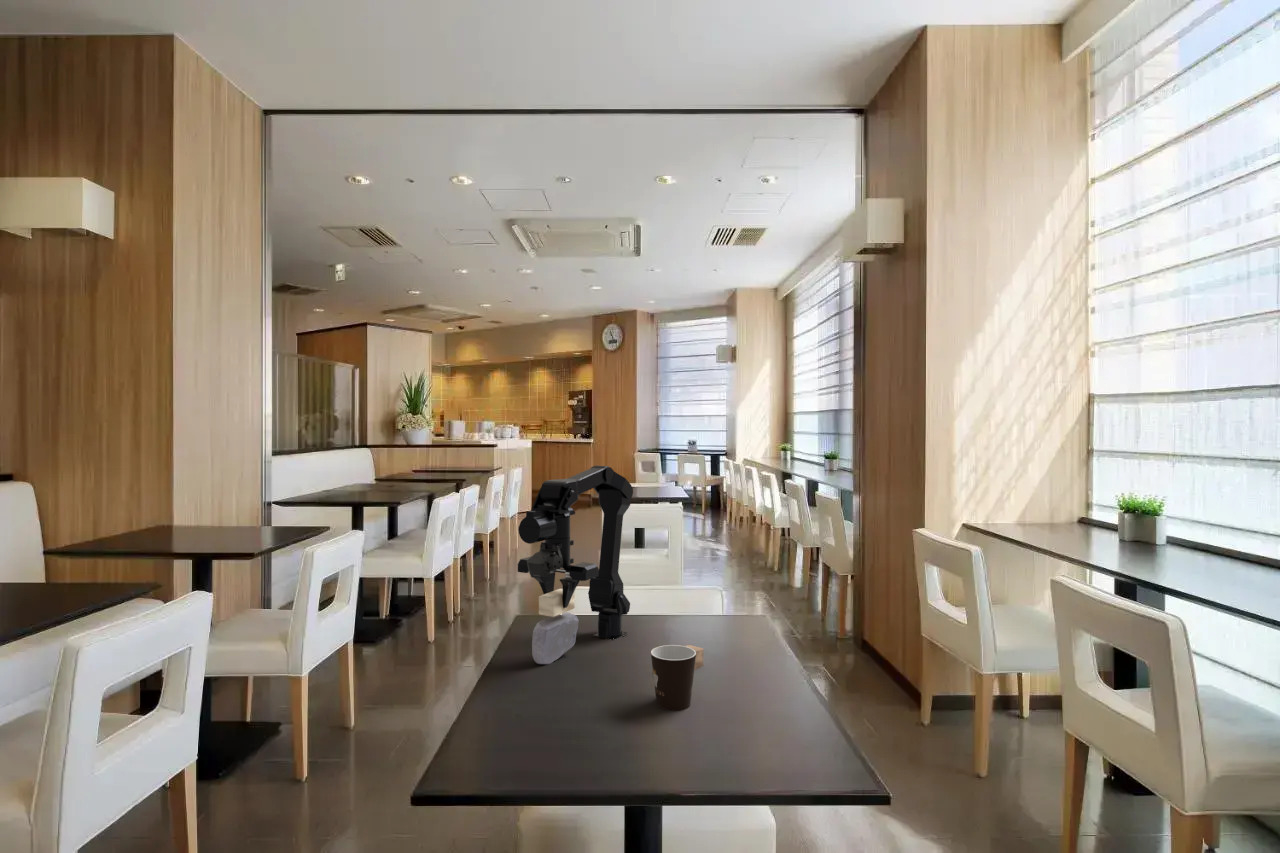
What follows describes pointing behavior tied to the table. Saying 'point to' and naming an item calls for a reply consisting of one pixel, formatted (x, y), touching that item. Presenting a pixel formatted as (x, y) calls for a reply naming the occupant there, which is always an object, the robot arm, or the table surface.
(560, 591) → the ash brick
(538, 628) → the stone block
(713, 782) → the table surface
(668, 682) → the coffee mug
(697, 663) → the brick
